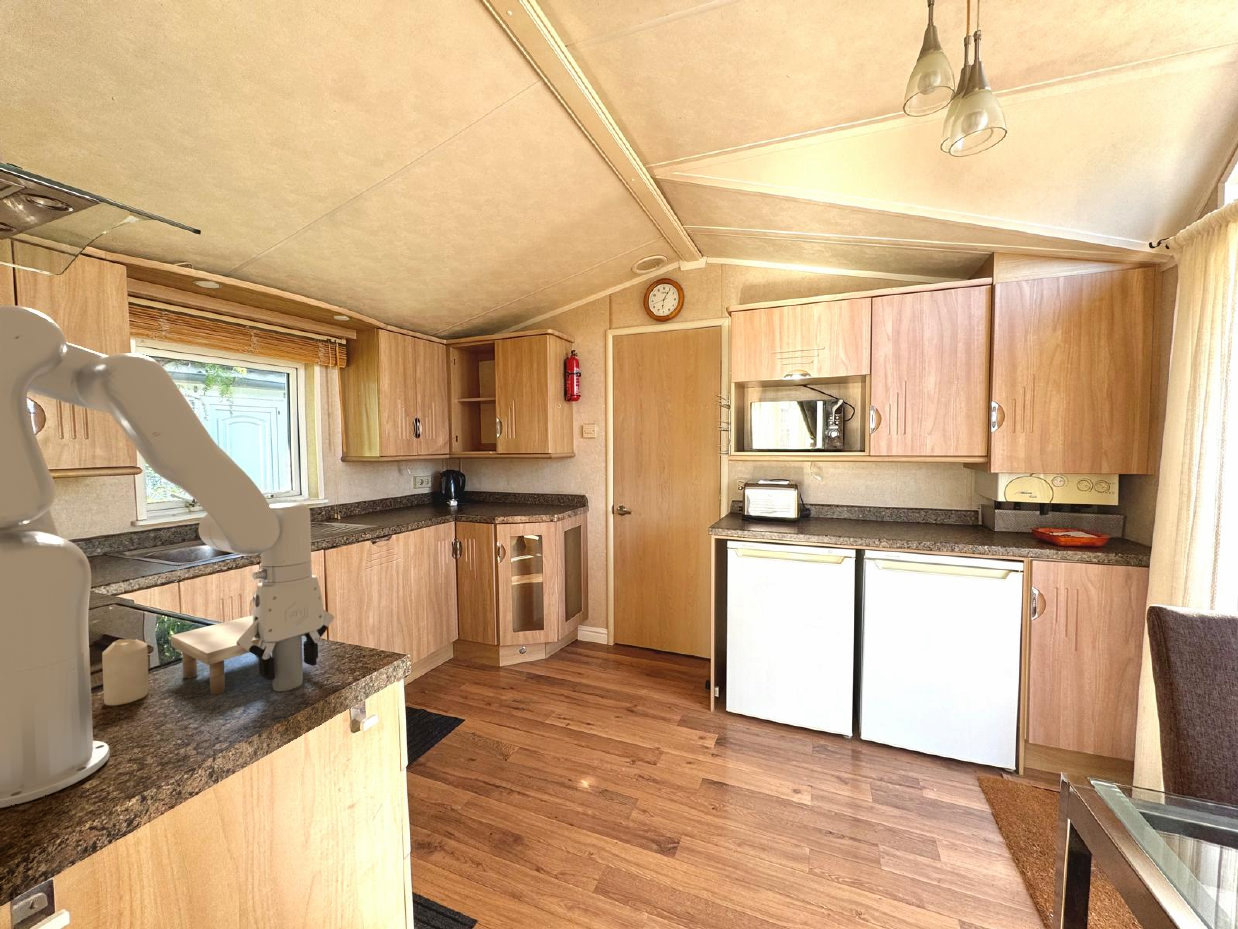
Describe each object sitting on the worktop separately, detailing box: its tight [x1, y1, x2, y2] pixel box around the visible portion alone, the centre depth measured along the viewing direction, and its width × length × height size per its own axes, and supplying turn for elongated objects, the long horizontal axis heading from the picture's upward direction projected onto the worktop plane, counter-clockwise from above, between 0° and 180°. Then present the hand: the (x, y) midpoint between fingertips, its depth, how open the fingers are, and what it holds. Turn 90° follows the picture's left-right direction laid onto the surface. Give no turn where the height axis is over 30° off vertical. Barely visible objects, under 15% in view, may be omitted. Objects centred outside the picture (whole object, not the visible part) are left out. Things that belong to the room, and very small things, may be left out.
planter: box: [271, 635, 304, 692], centre depth 91 cm, size 4×4×10 cm
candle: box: [101, 638, 150, 706], centre depth 87 cm, size 6×6×10 cm
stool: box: [170, 614, 305, 696], centre depth 97 cm, size 16×16×8 cm
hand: (289, 670), depth 91 cm, fingers open, 6 cm apart
